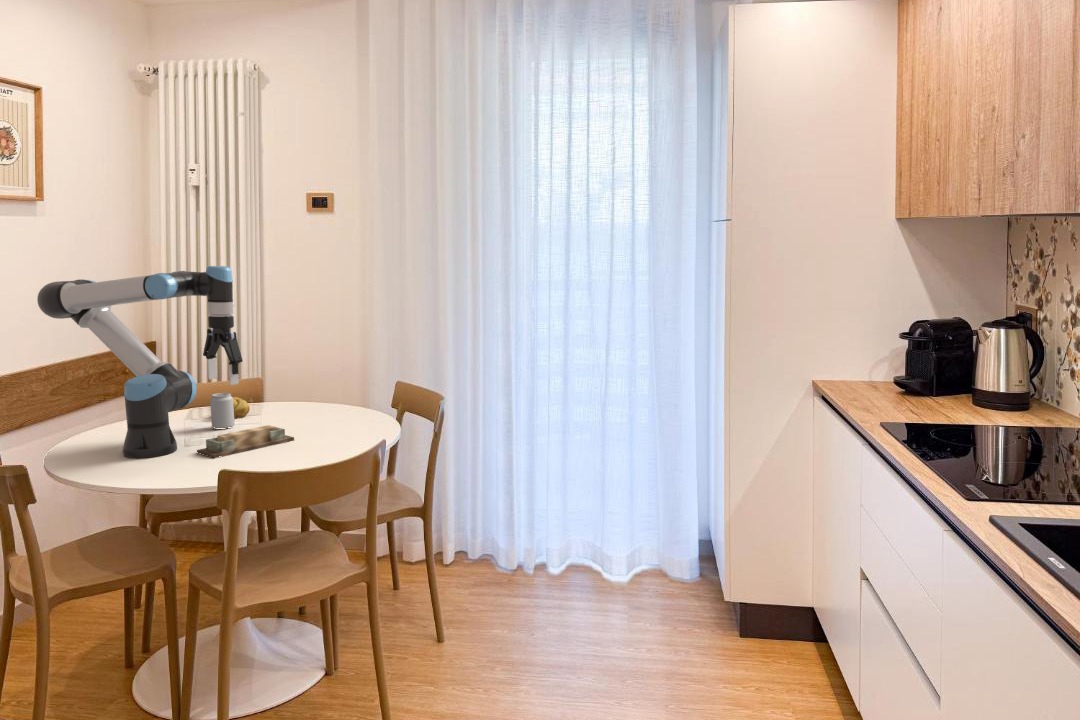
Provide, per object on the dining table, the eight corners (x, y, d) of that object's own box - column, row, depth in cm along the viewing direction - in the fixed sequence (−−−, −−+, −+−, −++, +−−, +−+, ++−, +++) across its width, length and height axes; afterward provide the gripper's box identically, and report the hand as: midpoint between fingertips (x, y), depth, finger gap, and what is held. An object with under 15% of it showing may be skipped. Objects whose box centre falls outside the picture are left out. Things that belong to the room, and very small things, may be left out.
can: (238, 425, 287) (236, 392, 285) (228, 430, 280) (226, 396, 278) (218, 425, 288) (216, 391, 286) (207, 429, 280) (205, 395, 279)
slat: (225, 450, 249) (224, 437, 248) (218, 448, 251) (217, 435, 251) (276, 438, 262) (275, 426, 262) (269, 437, 265) (268, 425, 264)
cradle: (214, 458, 243) (213, 445, 242) (196, 453, 249) (195, 440, 249) (294, 440, 265) (293, 428, 264) (276, 435, 271) (275, 424, 270)
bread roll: (221, 413, 308) (219, 393, 306) (248, 411, 311) (247, 391, 310) (222, 420, 296) (221, 399, 295) (250, 418, 300) (249, 396, 298)
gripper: (252, 317, 251) (254, 385, 254) (212, 311, 267) (214, 375, 270) (229, 319, 245) (232, 388, 248) (190, 312, 261) (192, 377, 264)
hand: (223, 381), depth 259 cm, fingers open, 13 cm apart
